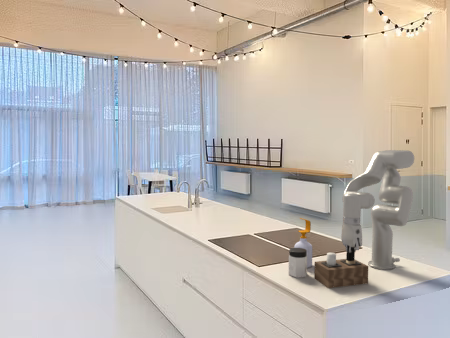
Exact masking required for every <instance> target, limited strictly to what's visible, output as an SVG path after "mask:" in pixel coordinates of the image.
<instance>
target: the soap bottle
mask: <svg viewBox="0 0 450 338" xmlns="http://www.w3.org/2000/svg"><path fill="white" fill-rule="evenodd" d="M299 219H300V220H303V221H304V222H305V229H303V230H302V229H301V230H298V231H297V232H299V233H300V234H301V236H300V237H299V238H300V239H299V241H297V242H296V243H295V244H294V247H293V248H303V249H306V250H307V269H308V268H311V267H312V266H313V245H312V244H311V243H310V242H309V241H307V240H308V237H307V236H306V235H307V233H310V232H311V227H312V226H311V221H310V220H309V219H306V218H302V217H299Z"/></svg>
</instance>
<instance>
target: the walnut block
mask: <svg viewBox="0 0 450 338" xmlns="http://www.w3.org/2000/svg"><path fill="white" fill-rule="evenodd" d="M354 260H355V264H348V263H346V258H340V259H336V265H335V266H329V265H327V260H321V261H320V260H319V261H314V274H313V276H314V280H316V281H317V282H319V283H320V284H321V285H322V286H324V287H326V288H327V289H332V288H334V289H335V288H341V287H350V286H359V285H367V284H369V265H367V264H365V263H363V262H361V261H359V260H357V259H356V258H355V259H354Z"/></svg>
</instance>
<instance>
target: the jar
mask: <svg viewBox="0 0 450 338" xmlns="http://www.w3.org/2000/svg"><path fill="white" fill-rule="evenodd" d="M307 273H308V268H307V250H306V249H303V248H294V247H291V248H289V255H288V276H290V277H293V278H305V277H306V276H307V275H308V274H307Z"/></svg>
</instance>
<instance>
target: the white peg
mask: <svg viewBox="0 0 450 338" xmlns="http://www.w3.org/2000/svg"><path fill="white" fill-rule="evenodd" d="M336 260H337V253H335V252H327V253H326V261H327V265H329V266H335V265H336Z"/></svg>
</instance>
